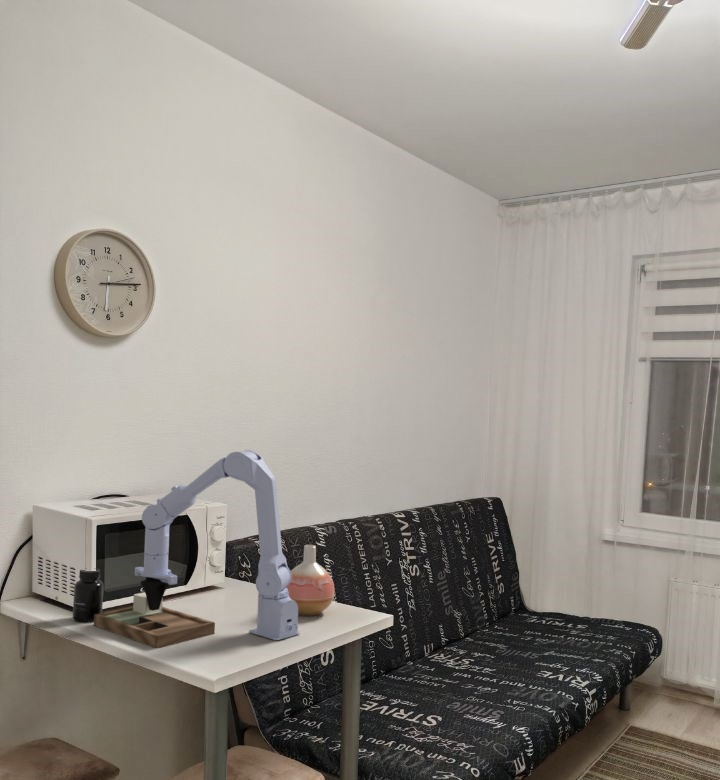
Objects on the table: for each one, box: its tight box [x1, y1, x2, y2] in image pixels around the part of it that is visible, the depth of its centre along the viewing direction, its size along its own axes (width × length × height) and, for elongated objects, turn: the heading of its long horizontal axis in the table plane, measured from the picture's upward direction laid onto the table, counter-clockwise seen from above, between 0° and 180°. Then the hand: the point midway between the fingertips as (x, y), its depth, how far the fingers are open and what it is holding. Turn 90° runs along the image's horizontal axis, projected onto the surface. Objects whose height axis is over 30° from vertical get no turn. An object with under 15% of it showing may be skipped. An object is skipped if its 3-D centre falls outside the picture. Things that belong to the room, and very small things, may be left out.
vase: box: [287, 544, 335, 617], centre depth 203 cm, size 14×14×18 cm
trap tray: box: [93, 606, 216, 649], centre depth 183 cm, size 25×16×3 cm, turn 51°
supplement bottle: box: [72, 568, 104, 623], centre depth 190 cm, size 7×7×12 cm
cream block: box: [132, 591, 164, 614], centre depth 192 cm, size 5×5×4 cm
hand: (154, 609), depth 189 cm, fingers closed
